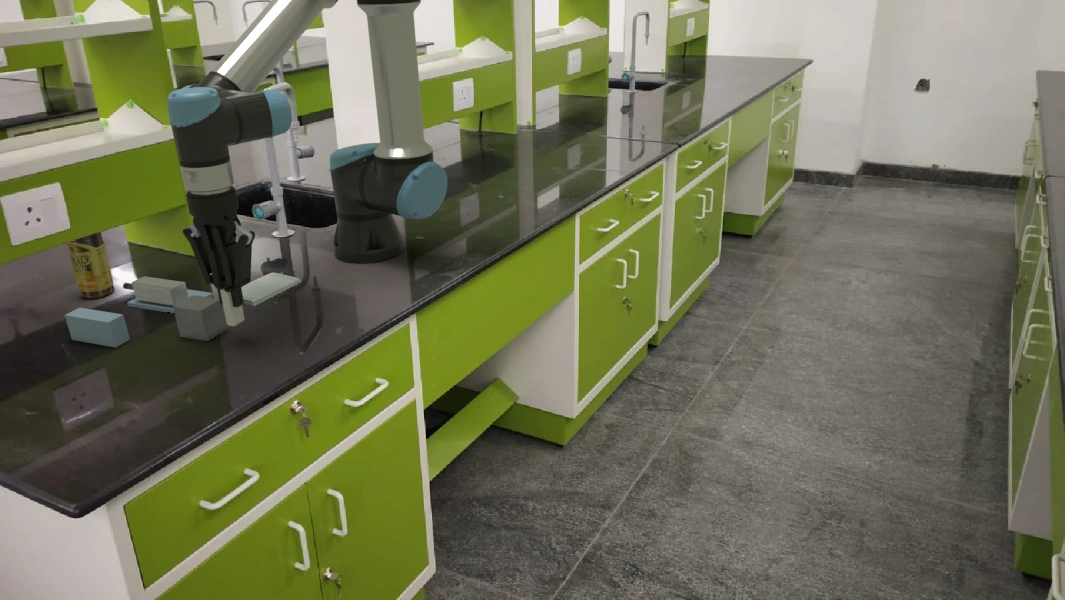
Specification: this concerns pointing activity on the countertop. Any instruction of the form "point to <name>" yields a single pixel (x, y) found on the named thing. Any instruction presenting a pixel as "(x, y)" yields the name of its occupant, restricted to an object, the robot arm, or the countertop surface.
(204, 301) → the steel block
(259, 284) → the hard drive
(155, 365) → the countertop surface
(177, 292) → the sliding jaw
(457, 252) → the countertop surface
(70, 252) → the sauce bottle
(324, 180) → the countertop surface
